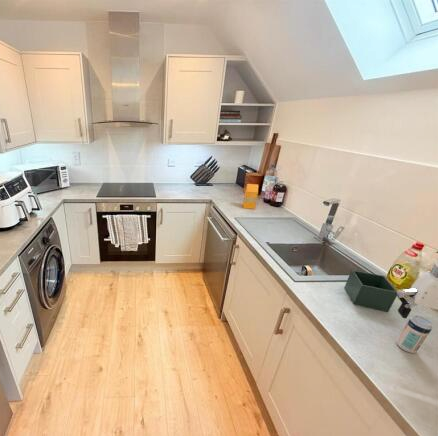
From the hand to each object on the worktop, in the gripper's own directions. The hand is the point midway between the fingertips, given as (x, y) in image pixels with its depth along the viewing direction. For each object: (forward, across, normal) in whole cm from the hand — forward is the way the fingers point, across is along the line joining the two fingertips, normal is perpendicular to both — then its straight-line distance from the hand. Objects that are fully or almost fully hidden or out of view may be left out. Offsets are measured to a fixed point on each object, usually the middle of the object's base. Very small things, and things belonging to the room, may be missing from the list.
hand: (421, 319), depth 74 cm
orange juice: (+5, +50, -122) cm, 131 cm away
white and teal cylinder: (+12, -1, 0) cm, 13 cm away
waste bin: (+12, +3, -23) cm, 26 cm away
